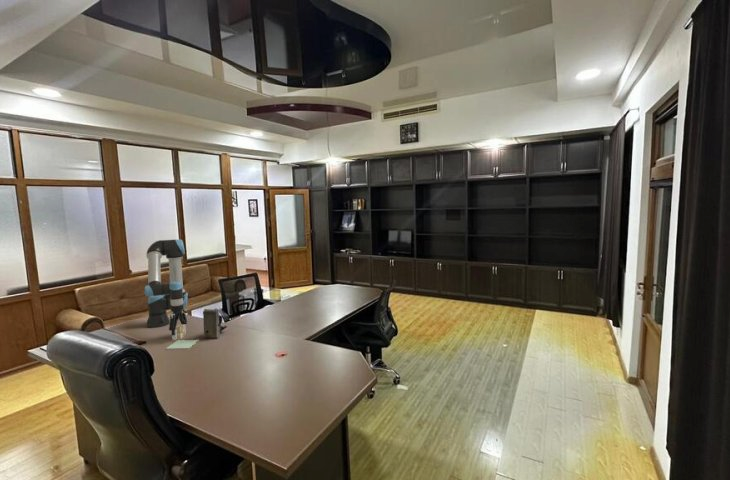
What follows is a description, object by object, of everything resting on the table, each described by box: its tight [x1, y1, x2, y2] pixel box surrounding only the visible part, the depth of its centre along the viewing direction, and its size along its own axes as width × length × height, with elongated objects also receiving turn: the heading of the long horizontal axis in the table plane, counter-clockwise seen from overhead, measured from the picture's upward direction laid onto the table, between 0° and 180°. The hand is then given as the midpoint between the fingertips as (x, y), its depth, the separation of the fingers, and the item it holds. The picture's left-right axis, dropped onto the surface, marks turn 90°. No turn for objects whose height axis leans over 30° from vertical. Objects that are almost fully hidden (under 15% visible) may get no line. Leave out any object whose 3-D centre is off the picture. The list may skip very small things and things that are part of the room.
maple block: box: [175, 324, 186, 340], centre depth 231 cm, size 5×5×8 cm
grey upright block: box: [202, 308, 228, 339], centre depth 234 cm, size 10×16×20 cm, turn 174°
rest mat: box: [165, 339, 200, 350], centre depth 218 cm, size 14×14×1 cm
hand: (179, 336), depth 232 cm, fingers open, 11 cm apart
